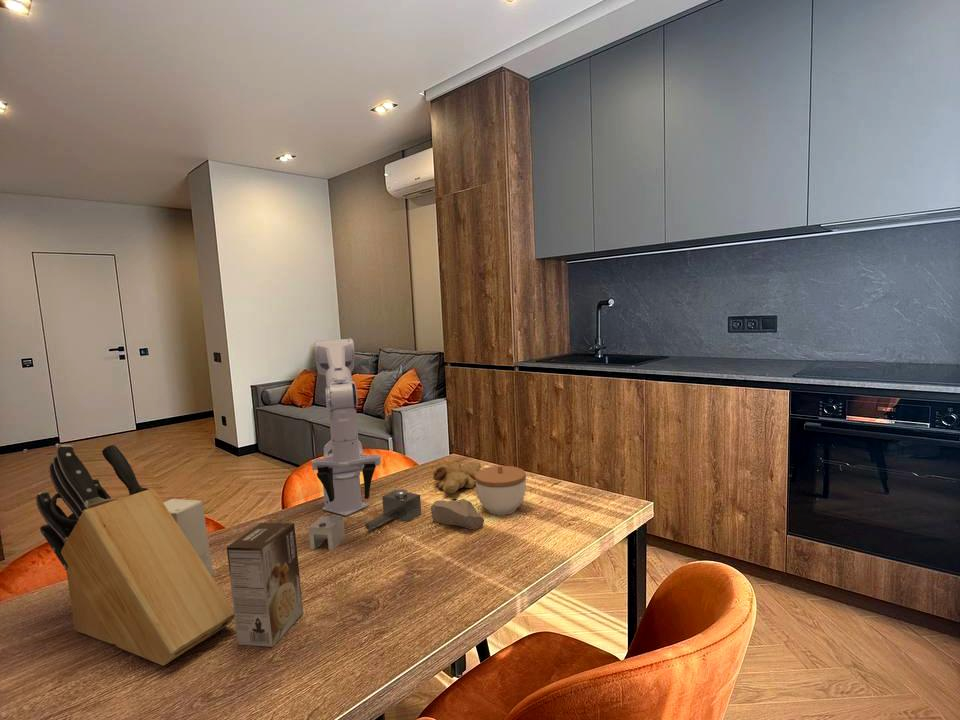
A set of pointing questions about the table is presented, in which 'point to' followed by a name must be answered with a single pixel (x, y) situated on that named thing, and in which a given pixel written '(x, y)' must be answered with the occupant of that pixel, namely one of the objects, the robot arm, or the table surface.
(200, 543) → the skincare box
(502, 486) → the lidded bowl
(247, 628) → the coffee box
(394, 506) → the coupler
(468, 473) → the ginger root
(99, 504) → the knife block
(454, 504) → the concrete fragment
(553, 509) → the table surface
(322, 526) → the notched block with hole
